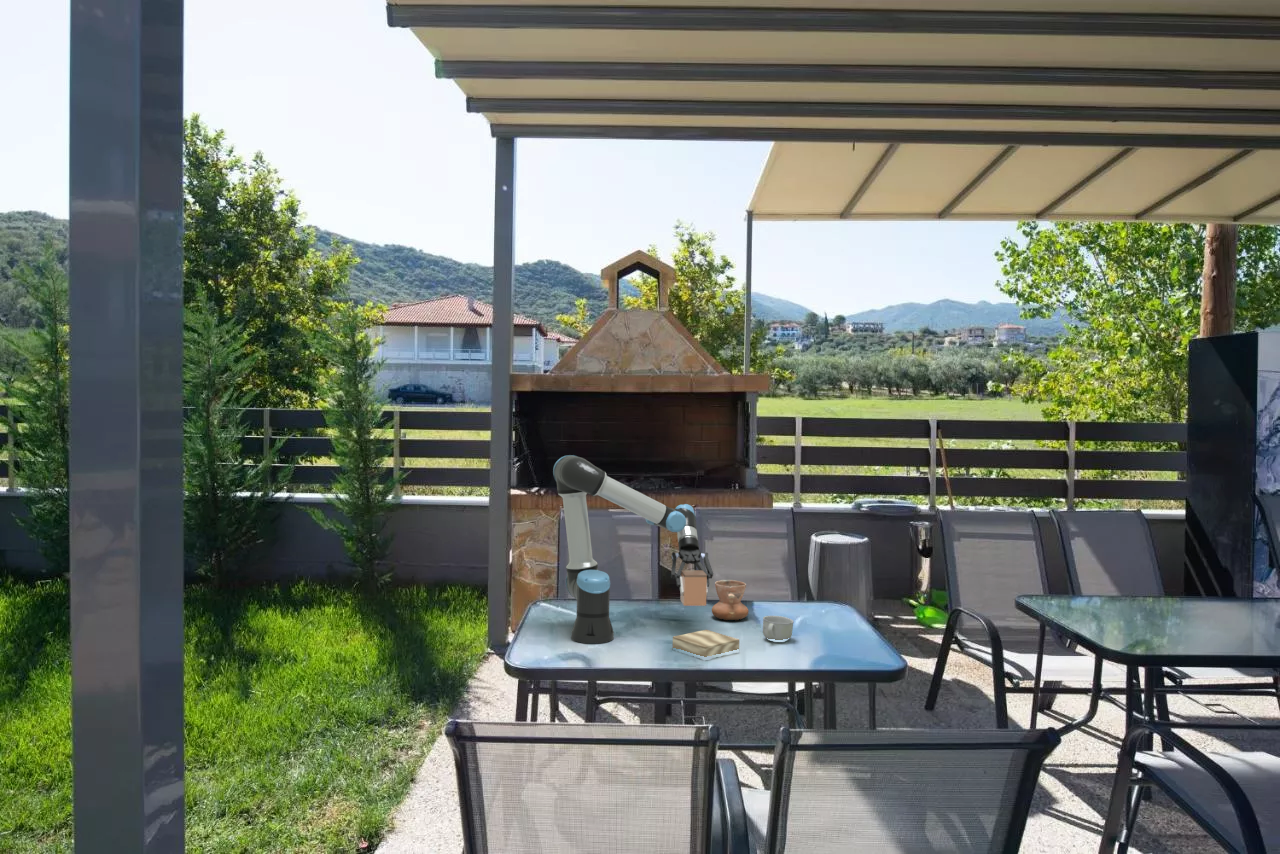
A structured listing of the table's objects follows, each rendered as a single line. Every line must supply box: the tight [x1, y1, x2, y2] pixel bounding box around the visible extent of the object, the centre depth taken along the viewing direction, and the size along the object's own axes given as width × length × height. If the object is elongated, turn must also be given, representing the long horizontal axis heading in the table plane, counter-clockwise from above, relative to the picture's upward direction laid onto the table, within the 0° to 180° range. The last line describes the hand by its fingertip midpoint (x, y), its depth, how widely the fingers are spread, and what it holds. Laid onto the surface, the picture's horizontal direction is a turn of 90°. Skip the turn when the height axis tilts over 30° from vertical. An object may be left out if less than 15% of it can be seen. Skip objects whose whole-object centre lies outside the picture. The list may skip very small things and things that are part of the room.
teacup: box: [762, 615, 794, 640], centre depth 312 cm, size 14×11×8 cm
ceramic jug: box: [711, 579, 749, 621], centre depth 346 cm, size 18×14×14 cm
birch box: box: [672, 629, 740, 657], centre depth 298 cm, size 16×16×5 cm
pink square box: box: [679, 569, 708, 607], centre depth 316 cm, size 8×8×11 cm
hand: (694, 593), depth 314 cm, fingers closed on pink square box, 8 cm apart
